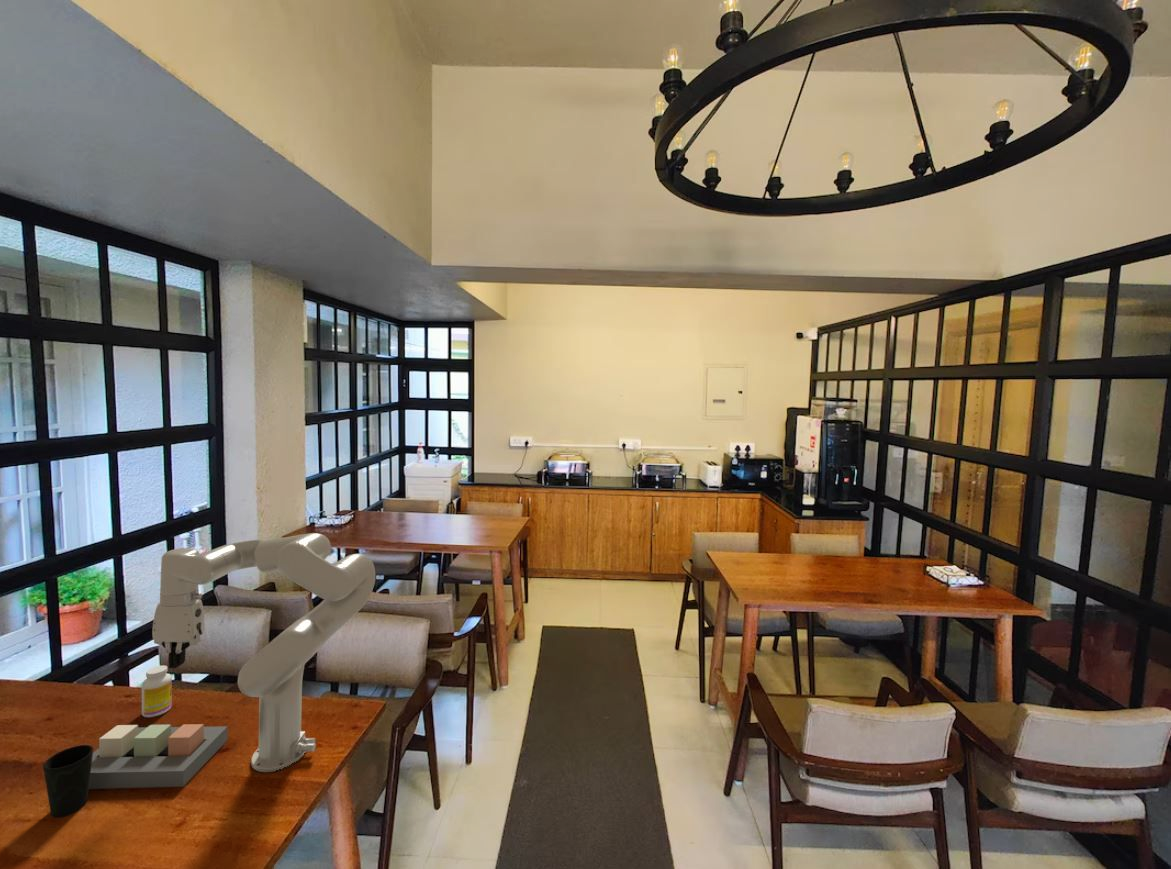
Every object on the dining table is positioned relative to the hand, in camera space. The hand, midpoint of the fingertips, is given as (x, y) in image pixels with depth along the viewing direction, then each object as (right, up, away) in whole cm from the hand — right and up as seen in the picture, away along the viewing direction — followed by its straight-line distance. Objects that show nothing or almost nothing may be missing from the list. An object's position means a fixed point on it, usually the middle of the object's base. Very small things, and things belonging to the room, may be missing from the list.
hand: (176, 665), depth 123 cm
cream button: (-12, -20, -3) cm, 24 cm away
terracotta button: (+4, -21, -1) cm, 21 cm away
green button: (-4, -21, -2) cm, 21 cm away
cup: (-11, -25, -16) cm, 31 cm away
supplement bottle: (-21, -23, +18) cm, 35 cm away
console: (-4, -24, -2) cm, 25 cm away
